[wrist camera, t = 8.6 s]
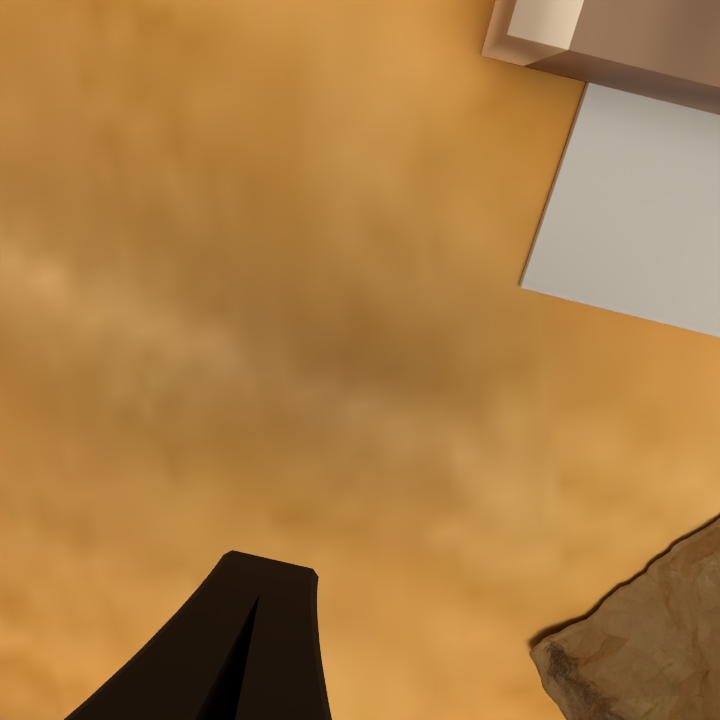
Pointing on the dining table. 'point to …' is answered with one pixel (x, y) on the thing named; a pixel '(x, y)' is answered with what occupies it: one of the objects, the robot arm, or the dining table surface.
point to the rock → (645, 644)
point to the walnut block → (616, 44)
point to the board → (635, 212)
